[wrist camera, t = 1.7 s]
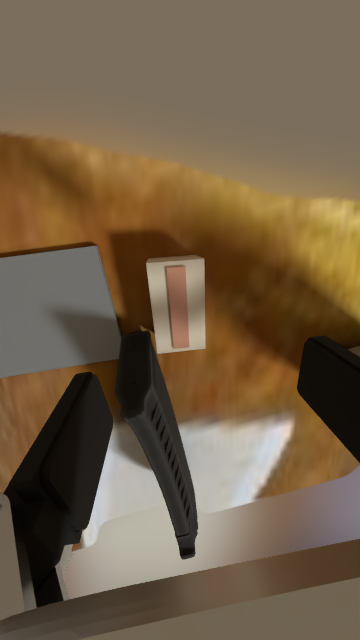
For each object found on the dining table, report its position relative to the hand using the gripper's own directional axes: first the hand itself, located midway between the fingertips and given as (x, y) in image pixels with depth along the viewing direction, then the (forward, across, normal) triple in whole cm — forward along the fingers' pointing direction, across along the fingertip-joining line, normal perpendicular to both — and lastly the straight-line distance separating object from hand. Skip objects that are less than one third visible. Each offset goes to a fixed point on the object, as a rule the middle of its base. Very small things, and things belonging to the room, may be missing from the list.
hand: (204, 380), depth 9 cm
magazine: (+15, +4, +19) cm, 24 cm away
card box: (+15, 0, 0) cm, 15 cm away
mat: (+14, +17, 0) cm, 22 cm away
